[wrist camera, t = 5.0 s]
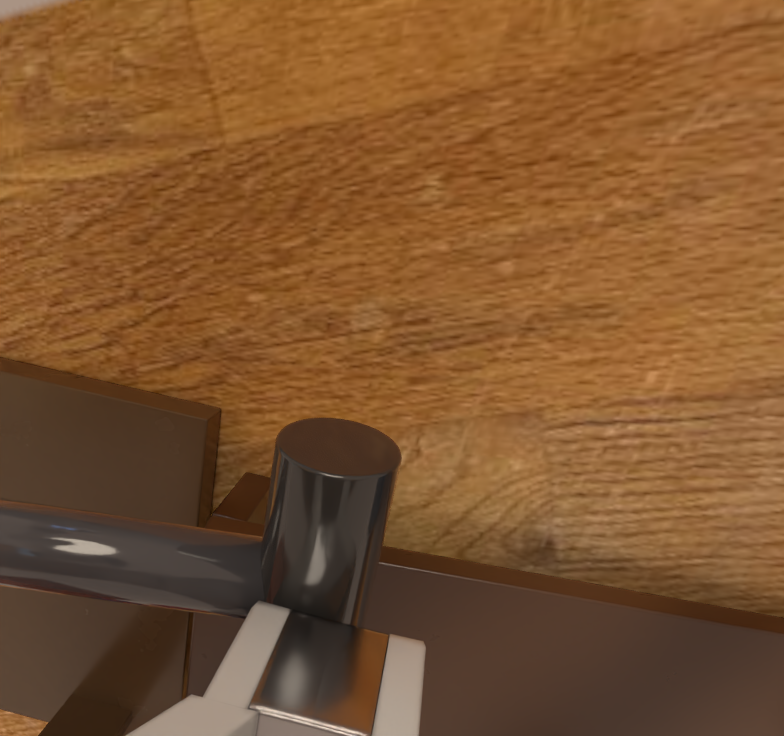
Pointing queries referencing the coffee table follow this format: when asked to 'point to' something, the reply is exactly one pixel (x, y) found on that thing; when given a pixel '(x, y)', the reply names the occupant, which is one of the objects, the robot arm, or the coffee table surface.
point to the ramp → (546, 648)
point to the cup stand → (111, 496)
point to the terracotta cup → (229, 538)
